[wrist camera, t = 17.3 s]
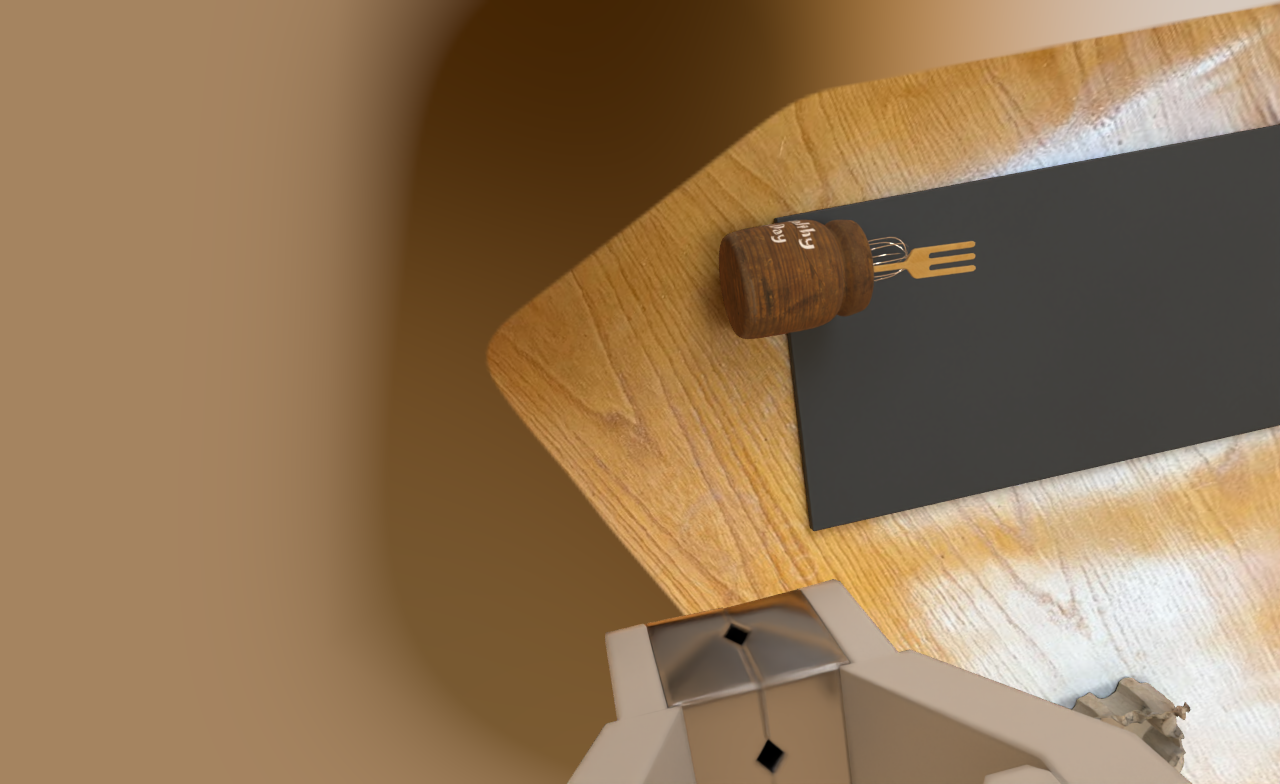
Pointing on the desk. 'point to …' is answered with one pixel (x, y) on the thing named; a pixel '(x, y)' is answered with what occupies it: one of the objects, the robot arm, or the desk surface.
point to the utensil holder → (809, 274)
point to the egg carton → (1141, 717)
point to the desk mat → (1048, 327)
